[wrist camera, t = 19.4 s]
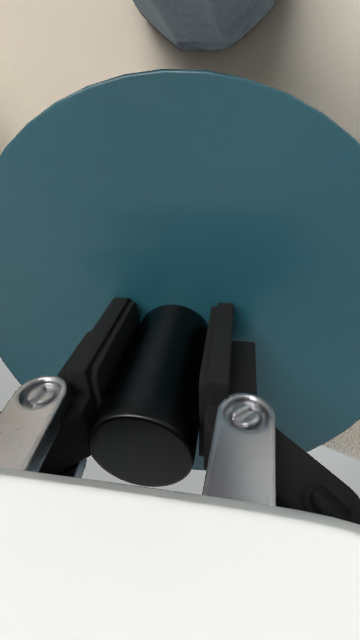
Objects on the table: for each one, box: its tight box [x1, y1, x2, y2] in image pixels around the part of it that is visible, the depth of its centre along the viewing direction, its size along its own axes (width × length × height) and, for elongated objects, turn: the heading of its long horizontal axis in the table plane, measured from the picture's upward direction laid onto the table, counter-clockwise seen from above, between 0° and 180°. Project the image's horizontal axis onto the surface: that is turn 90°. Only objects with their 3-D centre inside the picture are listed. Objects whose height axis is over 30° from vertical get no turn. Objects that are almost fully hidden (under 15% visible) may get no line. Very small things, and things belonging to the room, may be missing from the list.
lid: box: [0, 69, 360, 487], centre depth 11 cm, size 15×15×6 cm
